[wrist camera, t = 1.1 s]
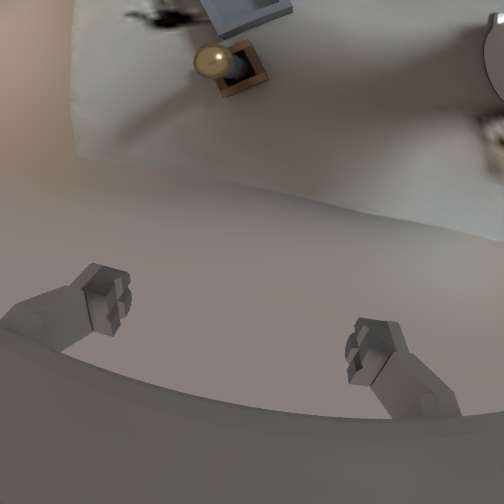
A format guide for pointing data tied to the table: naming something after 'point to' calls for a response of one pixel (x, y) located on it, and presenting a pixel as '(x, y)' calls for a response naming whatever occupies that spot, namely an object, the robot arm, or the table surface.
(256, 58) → the collar
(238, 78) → the pin
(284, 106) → the table surface
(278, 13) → the tray
